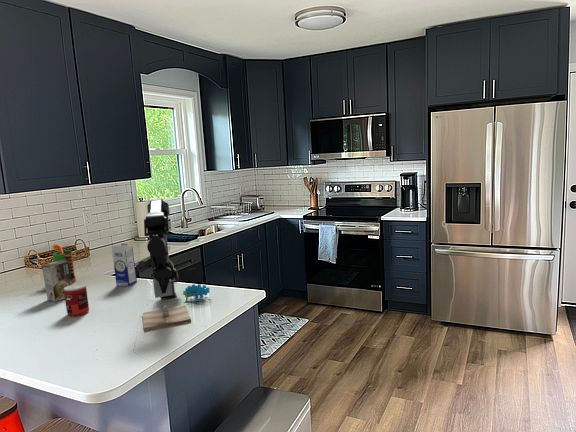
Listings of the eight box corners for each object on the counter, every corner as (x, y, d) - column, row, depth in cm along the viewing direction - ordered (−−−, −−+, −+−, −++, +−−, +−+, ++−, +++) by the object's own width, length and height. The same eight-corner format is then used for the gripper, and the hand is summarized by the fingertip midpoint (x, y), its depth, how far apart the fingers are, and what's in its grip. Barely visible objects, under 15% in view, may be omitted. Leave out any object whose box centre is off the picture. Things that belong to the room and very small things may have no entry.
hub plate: (142, 315, 163) (141, 303, 162) (185, 308, 168) (184, 296, 167) (144, 331, 148) (142, 318, 147) (191, 322, 153) (189, 309, 152)
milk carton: (116, 286, 205) (111, 245, 202) (124, 282, 211) (119, 242, 208) (129, 286, 203) (124, 245, 200) (137, 282, 210) (132, 242, 207)
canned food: (68, 311, 173) (64, 285, 171) (90, 308, 175) (86, 282, 174) (66, 318, 165) (62, 290, 164) (88, 314, 168) (84, 287, 167)
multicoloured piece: (75, 283, 214) (69, 244, 211) (55, 286, 211) (49, 247, 208) (77, 278, 223) (71, 241, 220) (57, 281, 220) (52, 243, 217)
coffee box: (66, 293, 198) (61, 259, 195) (74, 295, 194) (69, 260, 192) (46, 300, 190) (41, 265, 188) (54, 302, 187) (49, 266, 184)
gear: (213, 291, 181) (204, 280, 173) (212, 304, 178) (204, 294, 170) (188, 296, 182) (178, 285, 175) (187, 308, 179) (177, 298, 171)
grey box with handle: (154, 293, 158) (152, 278, 157) (171, 290, 160) (169, 276, 159) (155, 297, 153) (153, 283, 152) (172, 294, 155) (171, 280, 154)
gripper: (134, 247, 160) (139, 287, 162) (135, 257, 143) (140, 302, 145) (165, 243, 164) (169, 282, 166) (169, 253, 146) (174, 296, 149)
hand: (163, 290), depth 156 cm, fingers closed on grey box with handle, 6 cm apart
